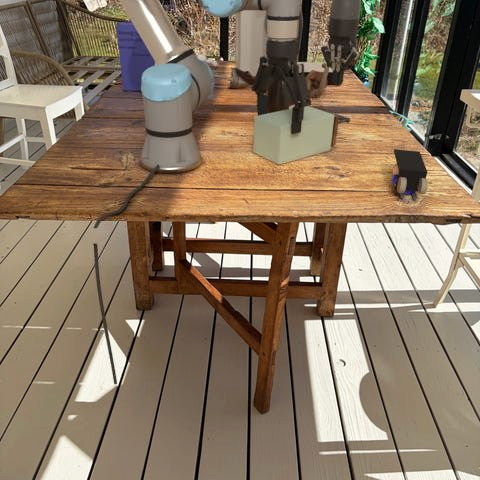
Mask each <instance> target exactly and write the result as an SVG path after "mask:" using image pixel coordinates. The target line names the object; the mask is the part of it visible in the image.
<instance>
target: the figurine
mask: <svg viewBox="0 0 480 480" xmlns="http://www.w3.org/2000/svg"><path fill="white" fill-rule="evenodd" d="M230 69H231V72H230V73H231V74H230V76H229V75H225V74H213V76H214V79H215V78H216V79H223V80H227V81H229V84H228V88H229V89H241V88H247V87H249V86H252V85H253V82H254V79H255V77H256V76H252V75H251V73H250V72H249V71H245V72H244V71H242V70H240V69H237V68H235V67H232V66H231V67H230ZM257 86H258V85H257Z"/></svg>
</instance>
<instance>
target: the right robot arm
mask: <svg viewBox="0 0 480 480" xmlns="http://www.w3.org/2000/svg"><path fill="white" fill-rule="evenodd" d="M361 9H362V0H331V4H330V11H329V22H328V31H327V35H328V36H329V38H328V41H327V44H325V46H321V47H320V51H321V53H322V57H323V59H324V61H325V62H326V64H327V67H330V68H331V69H332V71H333V74H332V85H331V86H334V87H340V86H342V84H343V83H344V78H345V77H344V75H345V72H347V71H350V70H351V69H352V68H353V67H354V66H355V64H356V63H357V62H358V61H359V59H360V58H361V57H362V52H361V51H358V50H357V48H356V46H357V45H356V38H357V36H358V32H359V25H360V17H361V11H362V10H361ZM303 17H304V16H303V12H302V10H301V9H300V13H299V29H298V37H297V38H295V39H296V40H297V41H298V48H297V56H296V57H295V58H294V63H295V64H297V62H298V59H299V55H300V51H301V43H302V35H303V28H304V18H303ZM264 28H265V33H266V32H267V11H266V12H265V20H264ZM289 78H291V77H289ZM266 93H267V94H266V95H268V99H267V114H268V113H273V112H278V111H283V110H287V109H292V108H293V107H294V106H295V105H294V103H293V100H292V98H291V96H290V93H289V91H288V89H287V86H286V84H284V83H283V81H281V80H279V79H274V81H273V82H272V84H271V85H270V87H269V88H268V90H267V92H266Z"/></svg>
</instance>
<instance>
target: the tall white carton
mask: <svg viewBox="0 0 480 480" xmlns="http://www.w3.org/2000/svg"><path fill="white" fill-rule="evenodd" d="M265 12H266V11H260V10H244V11H241V12H238V13H235V59H234V60H235V62H234V63H235V65H234V66H235V67H234V68H237V69H240V70H242V71H244V72H245V71H249V72H250V73H251V75H252V76H256V74H257V71H258V68H259V64H260V57H263V56H267V55H266V41H267V40H268V39H269V38H268V37H267V36H266V33H265V28H264V20H265Z"/></svg>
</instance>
